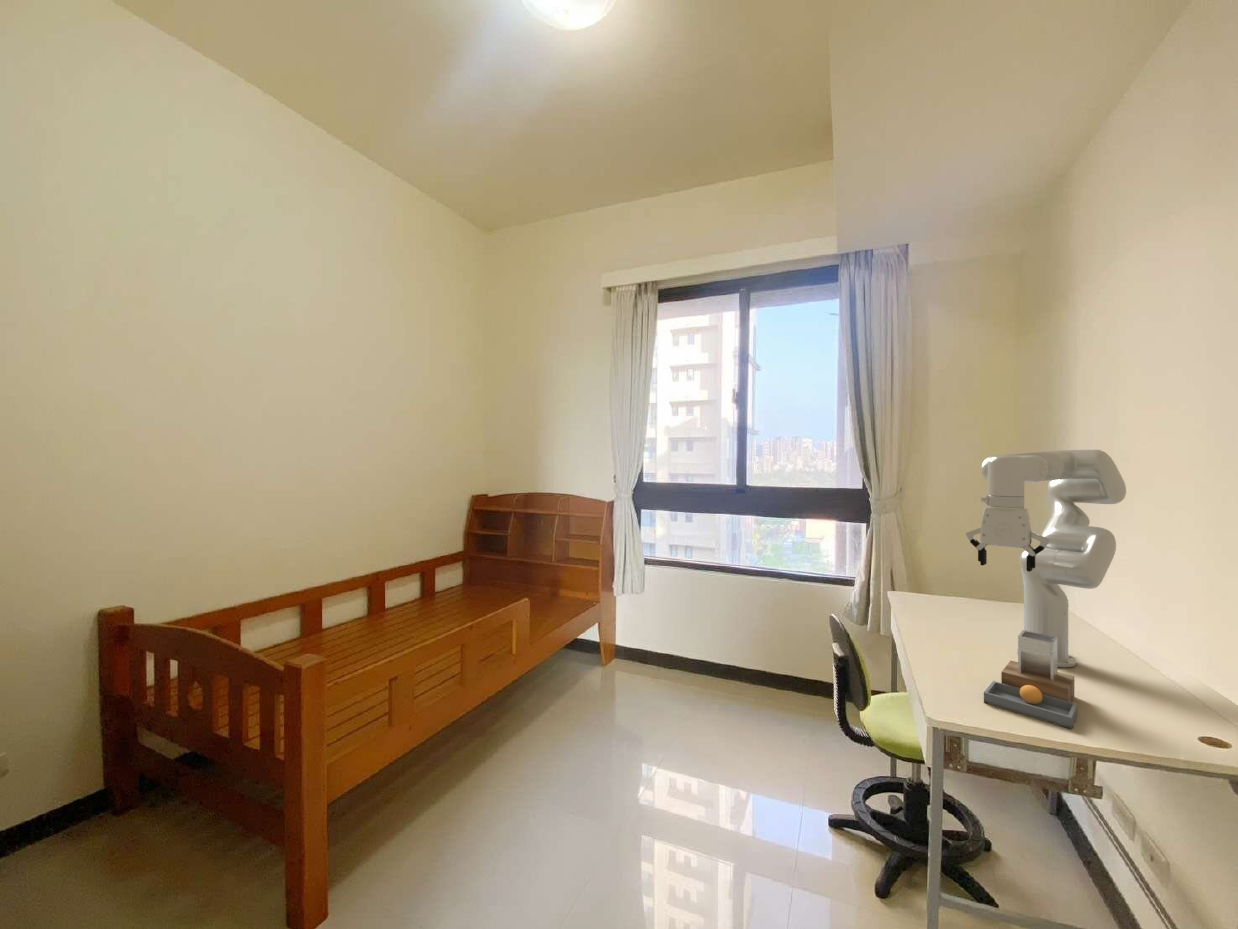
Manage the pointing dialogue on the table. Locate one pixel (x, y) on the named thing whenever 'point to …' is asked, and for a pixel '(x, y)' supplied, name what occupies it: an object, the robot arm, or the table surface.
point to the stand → (1039, 681)
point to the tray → (1031, 705)
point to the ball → (1031, 694)
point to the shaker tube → (1037, 652)
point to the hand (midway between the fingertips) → (1005, 567)
